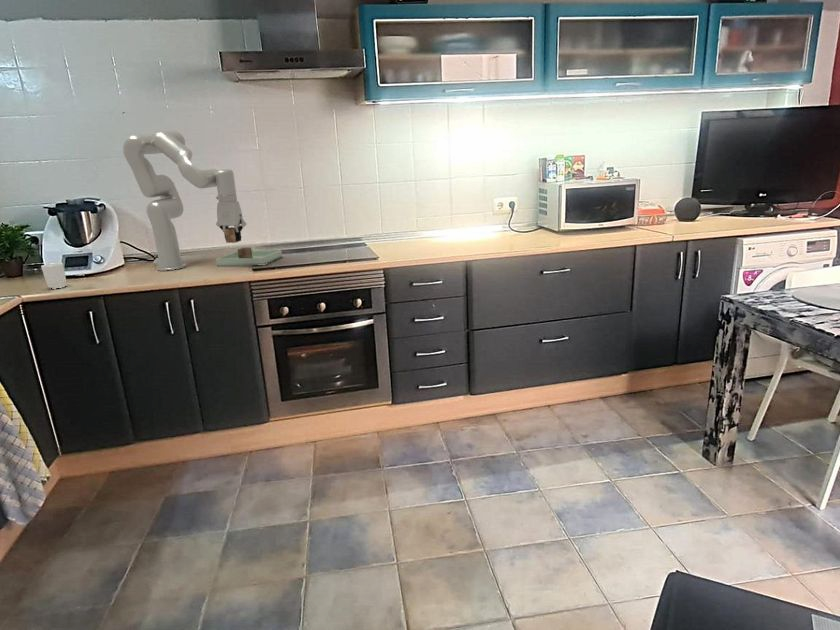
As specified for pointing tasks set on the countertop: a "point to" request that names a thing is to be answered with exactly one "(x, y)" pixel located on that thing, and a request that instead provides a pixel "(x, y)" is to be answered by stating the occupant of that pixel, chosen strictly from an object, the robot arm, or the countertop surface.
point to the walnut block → (245, 253)
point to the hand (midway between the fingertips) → (233, 240)
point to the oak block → (230, 235)
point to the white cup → (54, 274)
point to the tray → (258, 258)
